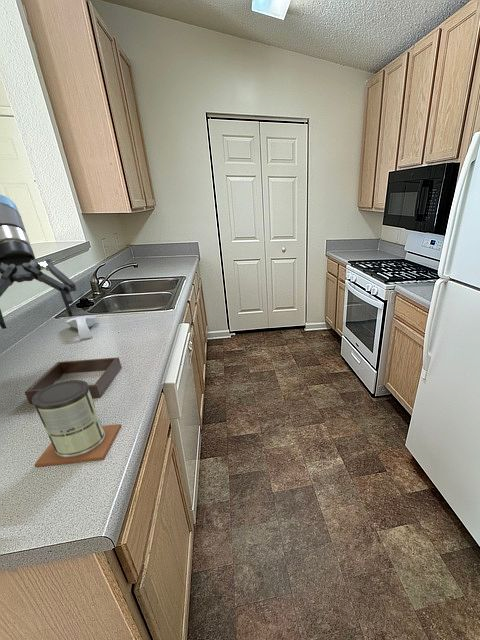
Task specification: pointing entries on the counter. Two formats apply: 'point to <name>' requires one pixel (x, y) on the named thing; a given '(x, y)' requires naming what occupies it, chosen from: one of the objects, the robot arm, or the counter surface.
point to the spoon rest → (83, 325)
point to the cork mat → (96, 454)
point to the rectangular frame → (63, 367)
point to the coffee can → (69, 417)
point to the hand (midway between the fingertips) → (38, 319)
